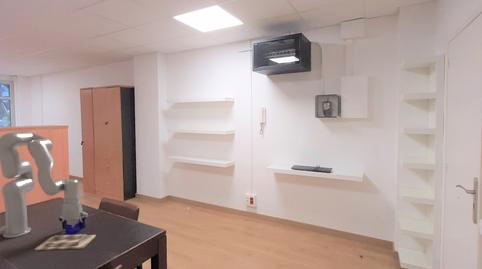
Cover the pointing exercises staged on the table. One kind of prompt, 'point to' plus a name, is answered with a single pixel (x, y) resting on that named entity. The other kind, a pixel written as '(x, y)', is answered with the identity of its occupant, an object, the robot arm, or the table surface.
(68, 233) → the blue curved piece
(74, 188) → the robot arm
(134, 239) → the table surface
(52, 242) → the clip cradle
